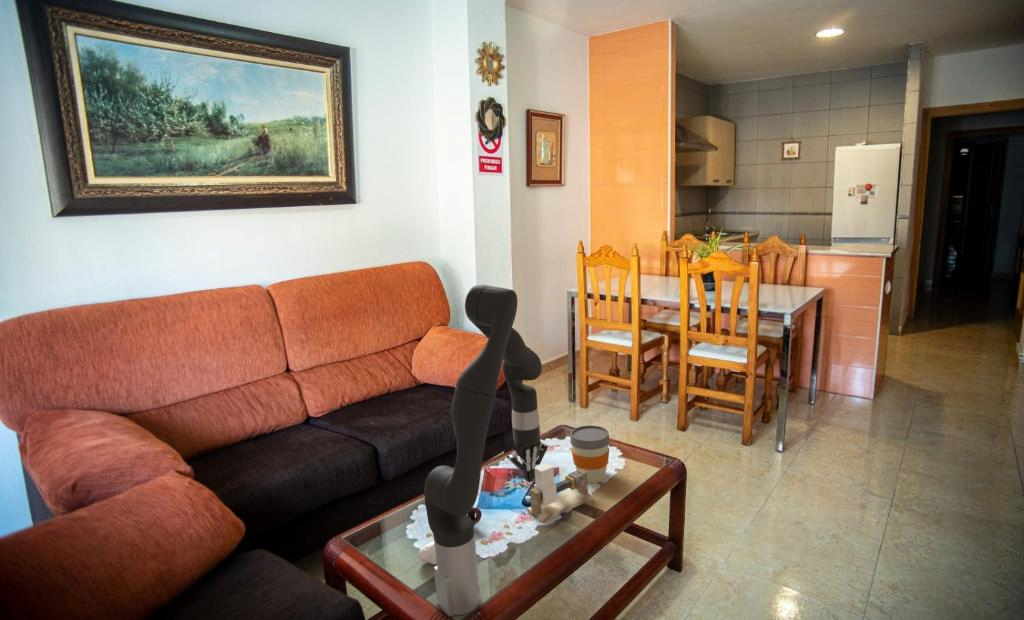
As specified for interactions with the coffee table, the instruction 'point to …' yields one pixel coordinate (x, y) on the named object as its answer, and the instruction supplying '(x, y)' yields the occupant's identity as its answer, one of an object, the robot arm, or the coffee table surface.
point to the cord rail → (562, 496)
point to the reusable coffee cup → (590, 451)
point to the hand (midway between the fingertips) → (529, 480)
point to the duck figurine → (428, 553)
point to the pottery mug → (472, 515)
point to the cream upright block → (545, 484)
